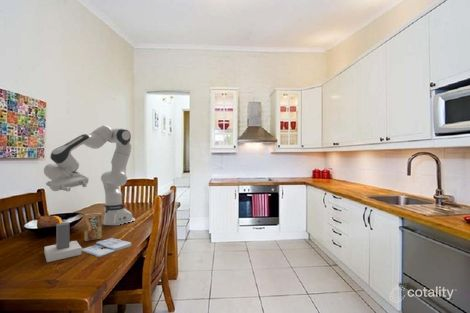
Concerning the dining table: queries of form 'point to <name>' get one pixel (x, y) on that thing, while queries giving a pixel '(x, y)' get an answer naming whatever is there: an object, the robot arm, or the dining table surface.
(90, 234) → the candy box
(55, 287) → the dining table surface
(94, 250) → the folded bicycle print cloth
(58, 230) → the tall block
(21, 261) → the dining table surface
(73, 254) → the white block
